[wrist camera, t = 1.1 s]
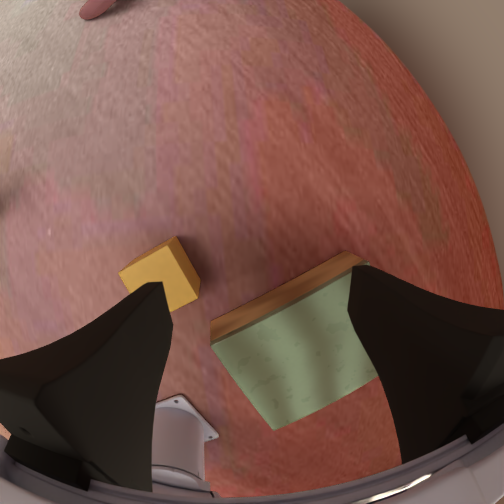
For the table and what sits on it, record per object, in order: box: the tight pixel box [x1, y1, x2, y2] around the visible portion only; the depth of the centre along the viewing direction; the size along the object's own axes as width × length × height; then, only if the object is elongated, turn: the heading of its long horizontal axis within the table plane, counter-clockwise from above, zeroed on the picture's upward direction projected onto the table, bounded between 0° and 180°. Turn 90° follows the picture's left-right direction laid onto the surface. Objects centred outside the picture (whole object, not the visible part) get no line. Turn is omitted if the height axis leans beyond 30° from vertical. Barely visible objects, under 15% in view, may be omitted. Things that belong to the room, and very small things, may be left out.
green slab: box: [210, 251, 378, 431], centre depth 24 cm, size 14×12×4 cm
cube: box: [118, 236, 201, 312], centre depth 21 cm, size 4×4×4 cm
